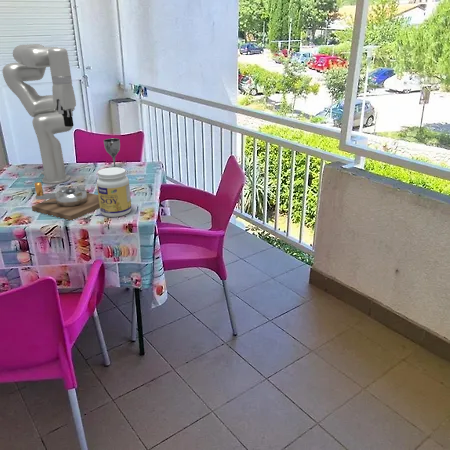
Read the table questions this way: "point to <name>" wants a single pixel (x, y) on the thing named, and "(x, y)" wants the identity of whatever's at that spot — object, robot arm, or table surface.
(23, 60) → the robot arm
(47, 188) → the table surface
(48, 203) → the nut board
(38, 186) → the silver and gold piece
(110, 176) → the supplement tub
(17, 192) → the table surface
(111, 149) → the wine glass
